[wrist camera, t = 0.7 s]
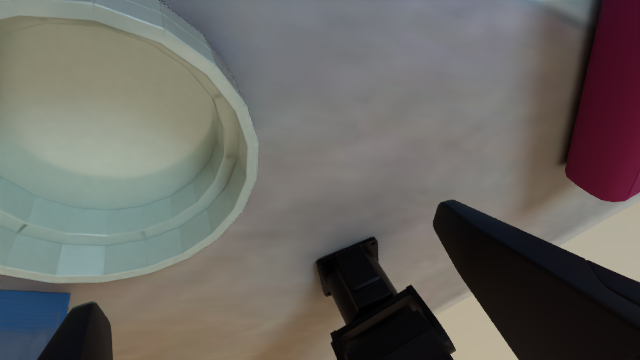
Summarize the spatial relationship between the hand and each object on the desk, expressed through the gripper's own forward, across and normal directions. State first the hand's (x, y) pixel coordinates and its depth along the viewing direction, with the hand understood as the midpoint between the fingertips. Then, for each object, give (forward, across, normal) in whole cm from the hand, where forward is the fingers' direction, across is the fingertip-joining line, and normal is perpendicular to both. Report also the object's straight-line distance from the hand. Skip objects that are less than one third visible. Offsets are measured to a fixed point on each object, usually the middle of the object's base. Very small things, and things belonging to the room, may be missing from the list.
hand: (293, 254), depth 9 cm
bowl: (+14, +6, +2) cm, 15 cm away
